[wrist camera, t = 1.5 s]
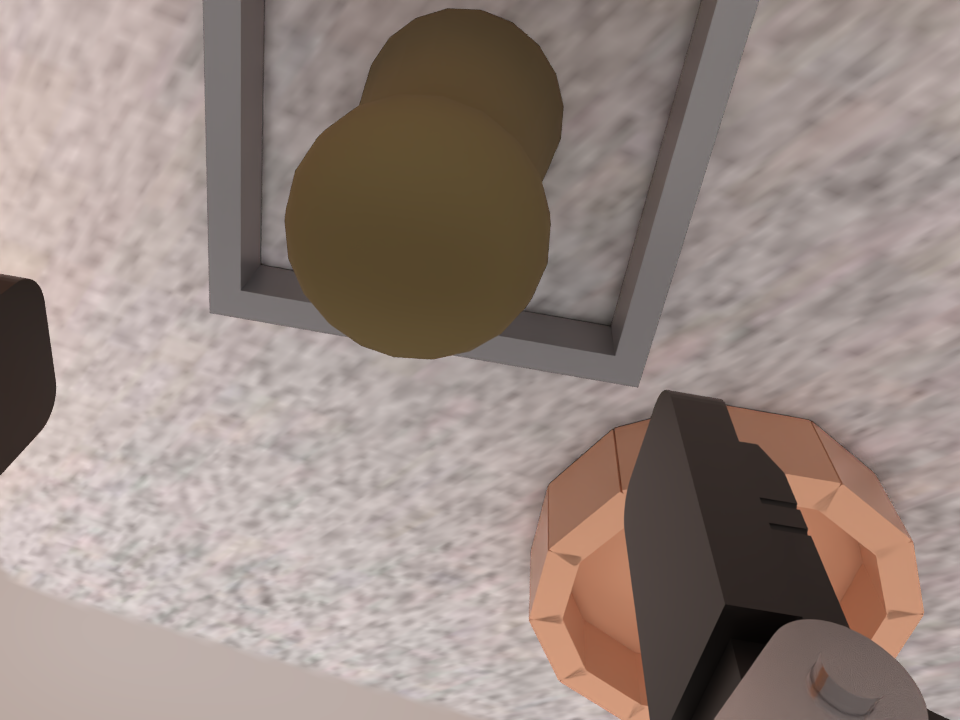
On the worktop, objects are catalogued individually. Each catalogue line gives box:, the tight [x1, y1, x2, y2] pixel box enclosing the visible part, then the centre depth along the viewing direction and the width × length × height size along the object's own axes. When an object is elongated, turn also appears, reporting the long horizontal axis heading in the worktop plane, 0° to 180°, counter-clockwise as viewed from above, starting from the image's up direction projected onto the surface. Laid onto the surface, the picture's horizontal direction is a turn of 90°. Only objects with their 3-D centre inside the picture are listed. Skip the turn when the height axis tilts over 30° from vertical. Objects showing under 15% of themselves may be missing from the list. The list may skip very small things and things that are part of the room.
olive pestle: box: [285, 8, 563, 359], centre depth 19 cm, size 6×6×11 cm
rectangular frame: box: [203, 0, 759, 388], centre depth 23 cm, size 14×14×2 cm
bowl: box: [529, 406, 924, 720], centre depth 30 cm, size 13×13×4 cm
